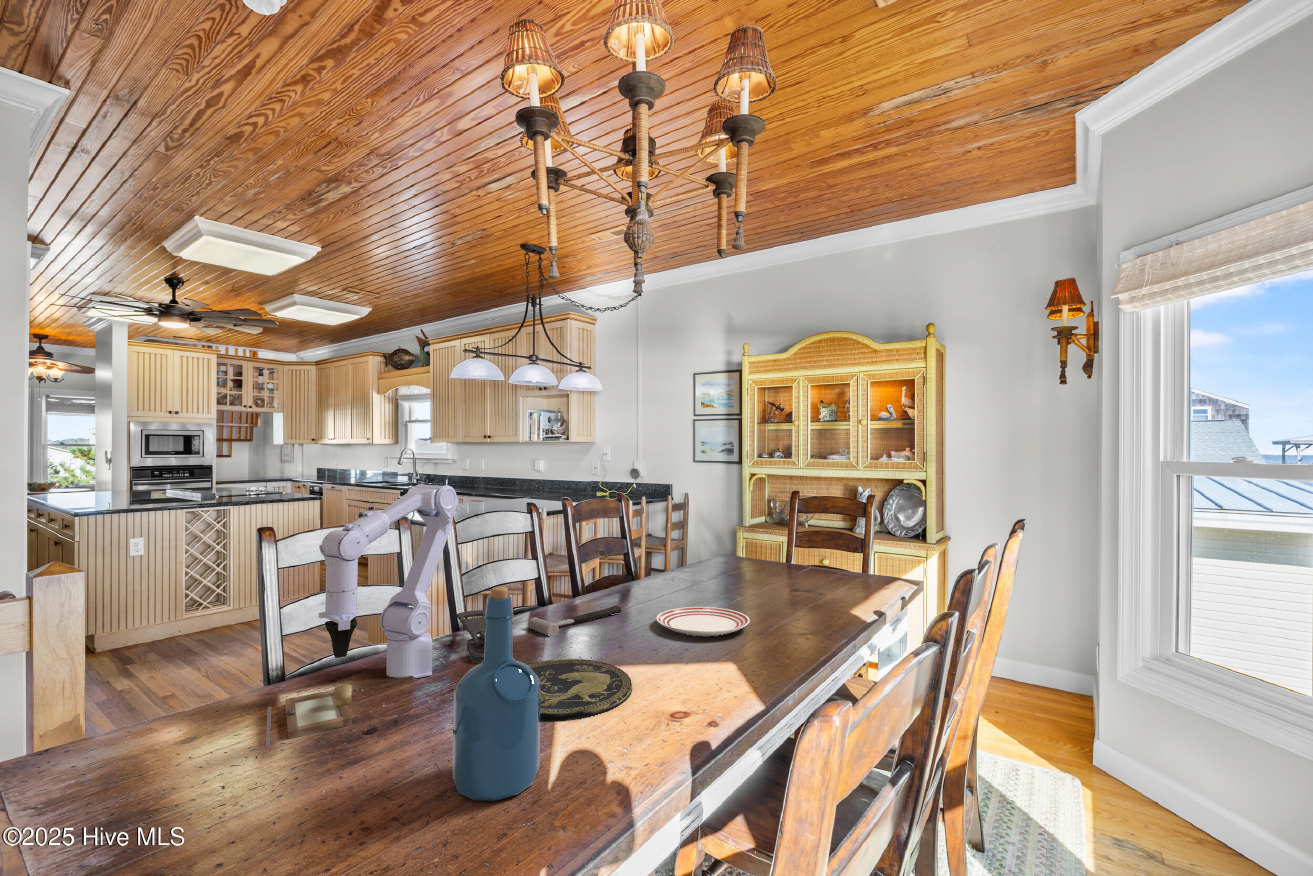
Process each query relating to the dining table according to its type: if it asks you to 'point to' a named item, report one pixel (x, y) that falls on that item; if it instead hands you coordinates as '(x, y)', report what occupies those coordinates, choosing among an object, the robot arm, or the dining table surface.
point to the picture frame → (318, 711)
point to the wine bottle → (496, 715)
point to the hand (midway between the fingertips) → (340, 656)
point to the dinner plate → (703, 620)
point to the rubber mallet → (568, 620)
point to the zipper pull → (475, 633)
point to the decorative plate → (579, 688)
